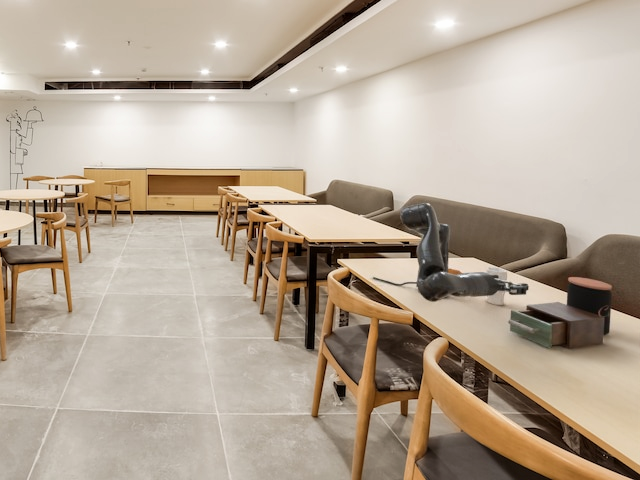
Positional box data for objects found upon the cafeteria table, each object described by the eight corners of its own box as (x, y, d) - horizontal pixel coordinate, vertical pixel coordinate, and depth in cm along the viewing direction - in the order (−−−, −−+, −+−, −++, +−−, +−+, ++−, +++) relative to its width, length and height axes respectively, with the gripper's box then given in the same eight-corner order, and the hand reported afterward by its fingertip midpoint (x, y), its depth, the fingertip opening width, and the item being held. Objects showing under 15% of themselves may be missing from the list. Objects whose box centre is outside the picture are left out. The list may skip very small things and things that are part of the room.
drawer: (538, 349, 120) (540, 326, 120) (500, 331, 131) (501, 310, 131) (580, 343, 124) (582, 321, 124) (540, 327, 135) (541, 306, 135)
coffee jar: (604, 339, 129) (607, 289, 128) (561, 325, 138) (563, 279, 138) (613, 332, 134) (616, 284, 133) (571, 319, 143) (573, 275, 142)
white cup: (509, 307, 154) (511, 272, 154) (491, 305, 155) (493, 271, 155) (498, 300, 161) (499, 267, 160) (480, 299, 162) (482, 266, 162)
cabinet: (569, 348, 122) (570, 321, 122) (525, 330, 135) (526, 305, 134) (603, 344, 125) (604, 317, 125) (556, 326, 138) (558, 301, 137)
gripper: (500, 280, 113) (538, 278, 116) (454, 266, 127) (488, 264, 130) (499, 304, 113) (536, 301, 117) (452, 287, 127) (487, 285, 130)
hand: (511, 282), depth 123 cm, fingers open, 8 cm apart
